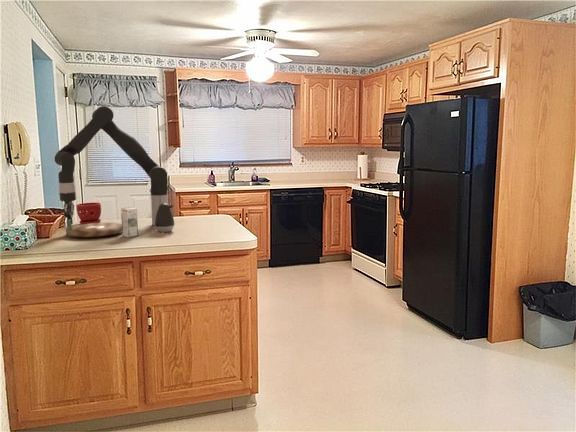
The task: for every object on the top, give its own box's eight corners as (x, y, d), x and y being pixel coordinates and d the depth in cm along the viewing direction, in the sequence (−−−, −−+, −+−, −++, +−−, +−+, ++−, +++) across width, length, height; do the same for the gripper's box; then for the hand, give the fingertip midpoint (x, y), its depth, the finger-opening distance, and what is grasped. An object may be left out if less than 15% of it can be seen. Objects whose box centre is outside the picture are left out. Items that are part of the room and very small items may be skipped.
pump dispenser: (170, 233, 245) (168, 205, 243) (151, 233, 248) (150, 204, 245) (178, 230, 255) (177, 202, 253) (160, 229, 257) (159, 201, 255)
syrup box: (132, 234, 244) (130, 206, 241) (138, 236, 240) (137, 207, 238) (122, 236, 240) (120, 208, 237) (128, 237, 236) (127, 209, 233)
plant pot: (106, 221, 280) (104, 201, 278) (95, 226, 267) (93, 205, 265) (85, 221, 281) (83, 201, 279) (73, 225, 268) (71, 204, 266)
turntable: (121, 224, 263) (120, 212, 262) (127, 234, 238) (126, 220, 237) (66, 228, 252) (65, 215, 251) (66, 239, 227) (64, 224, 226)
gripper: (63, 189, 246) (65, 222, 249) (55, 193, 233) (58, 227, 236) (78, 189, 247) (80, 221, 250) (71, 192, 234) (74, 227, 238)
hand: (70, 224), depth 243 cm, fingers closed
